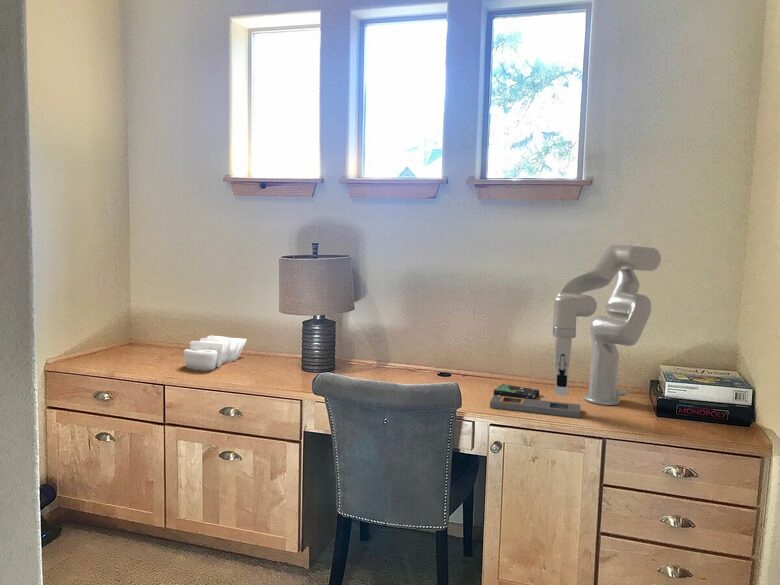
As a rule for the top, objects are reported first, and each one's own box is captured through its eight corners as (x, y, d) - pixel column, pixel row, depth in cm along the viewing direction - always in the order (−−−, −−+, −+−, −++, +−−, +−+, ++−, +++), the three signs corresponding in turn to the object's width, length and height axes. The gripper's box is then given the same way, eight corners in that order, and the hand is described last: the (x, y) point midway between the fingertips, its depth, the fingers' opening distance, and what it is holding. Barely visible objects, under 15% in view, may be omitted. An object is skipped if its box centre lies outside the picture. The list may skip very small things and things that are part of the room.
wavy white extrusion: (218, 354, 286) (218, 332, 285) (250, 357, 282) (250, 334, 281) (173, 370, 252) (173, 344, 251) (209, 373, 248) (209, 348, 247)
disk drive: (539, 397, 233) (501, 390, 240) (539, 389, 233) (502, 383, 240) (531, 403, 224) (492, 396, 231) (532, 395, 224) (493, 388, 231)
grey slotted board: (580, 410, 214) (580, 404, 214) (580, 418, 205) (580, 411, 205) (493, 400, 223) (494, 394, 223) (489, 407, 214) (490, 401, 213)
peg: (567, 392, 213) (568, 364, 212) (567, 395, 209) (568, 366, 208) (555, 391, 214) (556, 363, 213) (555, 394, 210) (556, 366, 209)
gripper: (553, 327, 218) (551, 378, 220) (551, 335, 202) (549, 390, 204) (575, 329, 216) (573, 379, 218) (575, 337, 200) (572, 392, 202)
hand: (561, 384), depth 211 cm, fingers closed on peg, 4 cm apart
